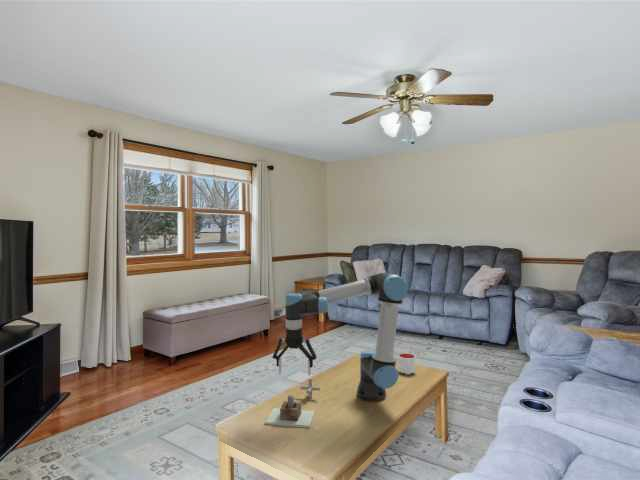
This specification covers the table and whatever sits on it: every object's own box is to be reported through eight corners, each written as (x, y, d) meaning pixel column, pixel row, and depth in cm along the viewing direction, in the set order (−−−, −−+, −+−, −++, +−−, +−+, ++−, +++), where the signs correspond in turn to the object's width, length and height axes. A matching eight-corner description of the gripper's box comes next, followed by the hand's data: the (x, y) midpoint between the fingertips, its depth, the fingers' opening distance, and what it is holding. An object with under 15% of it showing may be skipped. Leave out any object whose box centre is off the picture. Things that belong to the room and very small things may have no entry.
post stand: (314, 413, 178) (315, 391, 178) (309, 428, 165) (309, 405, 164) (273, 409, 181) (273, 389, 181) (265, 424, 167) (265, 401, 167)
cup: (405, 368, 239) (405, 352, 239) (418, 372, 232) (418, 356, 231) (394, 371, 233) (394, 355, 233) (408, 376, 225) (408, 359, 225)
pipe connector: (317, 403, 189) (317, 382, 189) (298, 401, 191) (298, 381, 191) (321, 394, 199) (321, 375, 199) (303, 393, 201) (303, 374, 201)
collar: (301, 412, 176) (301, 402, 176) (297, 421, 168) (297, 410, 168) (284, 411, 177) (284, 401, 177) (280, 419, 170) (280, 408, 169)
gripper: (322, 326, 176) (322, 371, 177) (269, 325, 180) (270, 370, 180) (319, 330, 169) (320, 377, 169) (265, 329, 172) (266, 376, 173)
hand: (294, 373), depth 175 cm, fingers open, 13 cm apart
